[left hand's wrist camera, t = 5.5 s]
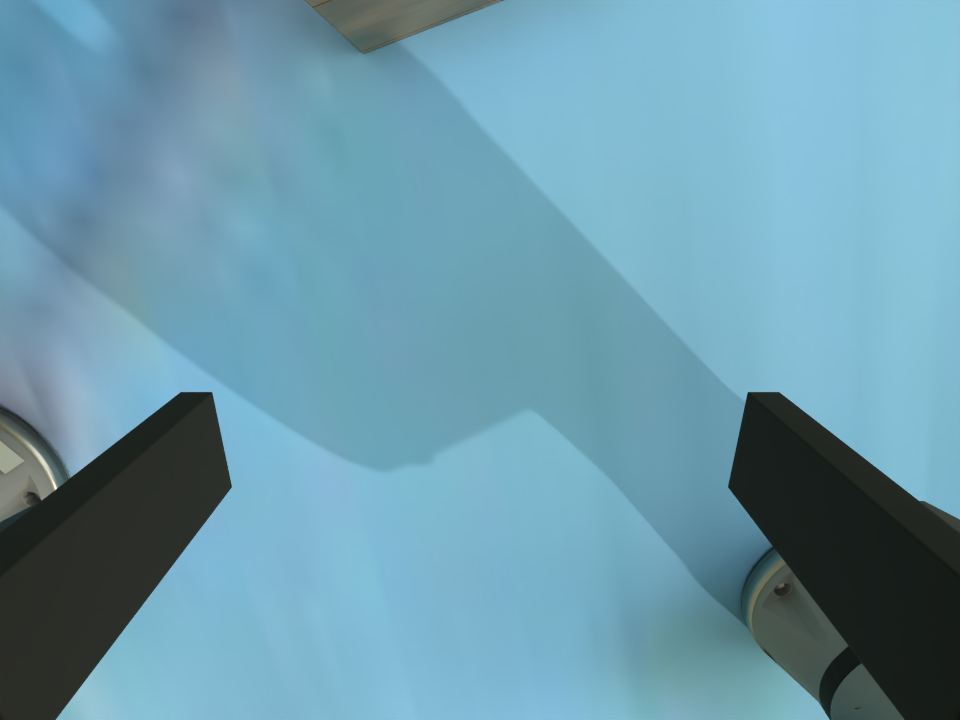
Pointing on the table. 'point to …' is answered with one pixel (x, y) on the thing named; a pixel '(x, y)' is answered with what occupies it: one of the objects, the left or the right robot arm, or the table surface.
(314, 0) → the lid
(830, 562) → the left robot arm
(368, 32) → the chest
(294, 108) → the table surface
